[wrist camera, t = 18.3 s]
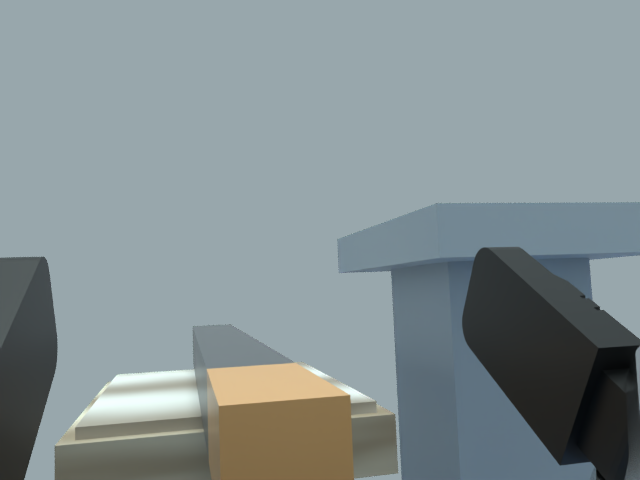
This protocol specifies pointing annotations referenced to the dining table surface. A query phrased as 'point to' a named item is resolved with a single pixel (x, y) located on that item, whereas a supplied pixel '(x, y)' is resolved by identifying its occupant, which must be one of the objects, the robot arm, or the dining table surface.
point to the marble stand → (186, 432)
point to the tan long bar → (268, 412)
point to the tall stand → (447, 334)
